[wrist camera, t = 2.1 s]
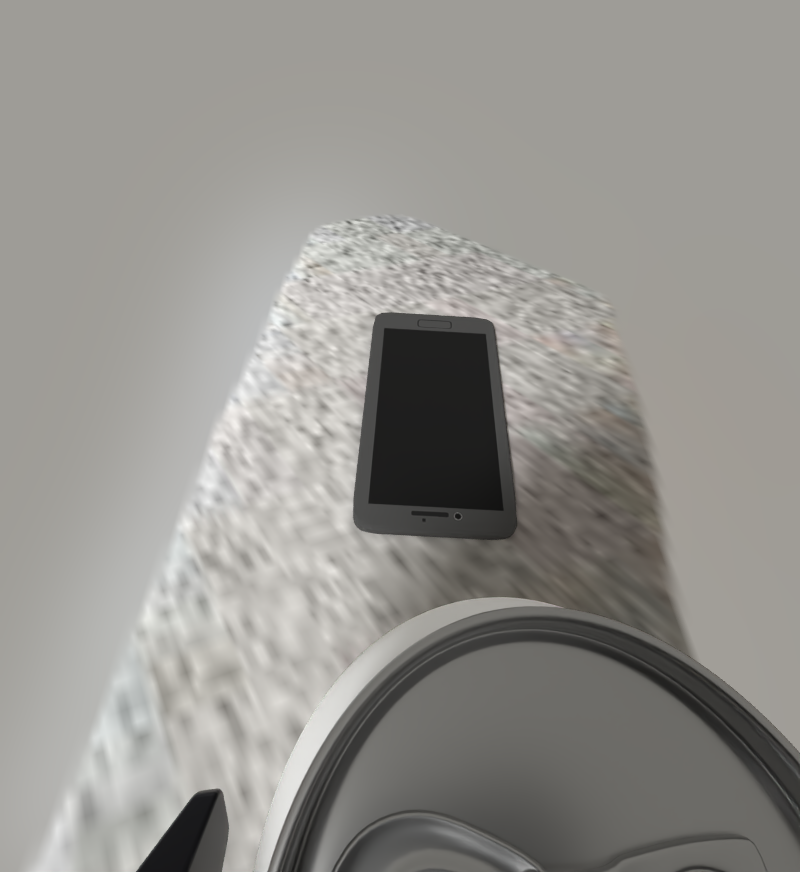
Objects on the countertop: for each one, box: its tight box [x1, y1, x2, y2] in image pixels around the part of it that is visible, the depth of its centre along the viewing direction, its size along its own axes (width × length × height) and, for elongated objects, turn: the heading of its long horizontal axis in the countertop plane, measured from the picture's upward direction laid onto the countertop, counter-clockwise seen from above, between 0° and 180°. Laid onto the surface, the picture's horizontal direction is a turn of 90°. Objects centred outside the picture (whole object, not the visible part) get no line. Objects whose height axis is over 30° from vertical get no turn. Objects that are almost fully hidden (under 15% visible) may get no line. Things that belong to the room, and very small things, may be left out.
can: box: [253, 597, 800, 872], centre depth 8 cm, size 6×6×12 cm
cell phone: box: [353, 313, 517, 540], centre depth 21 cm, size 7×14×1 cm, turn 178°
